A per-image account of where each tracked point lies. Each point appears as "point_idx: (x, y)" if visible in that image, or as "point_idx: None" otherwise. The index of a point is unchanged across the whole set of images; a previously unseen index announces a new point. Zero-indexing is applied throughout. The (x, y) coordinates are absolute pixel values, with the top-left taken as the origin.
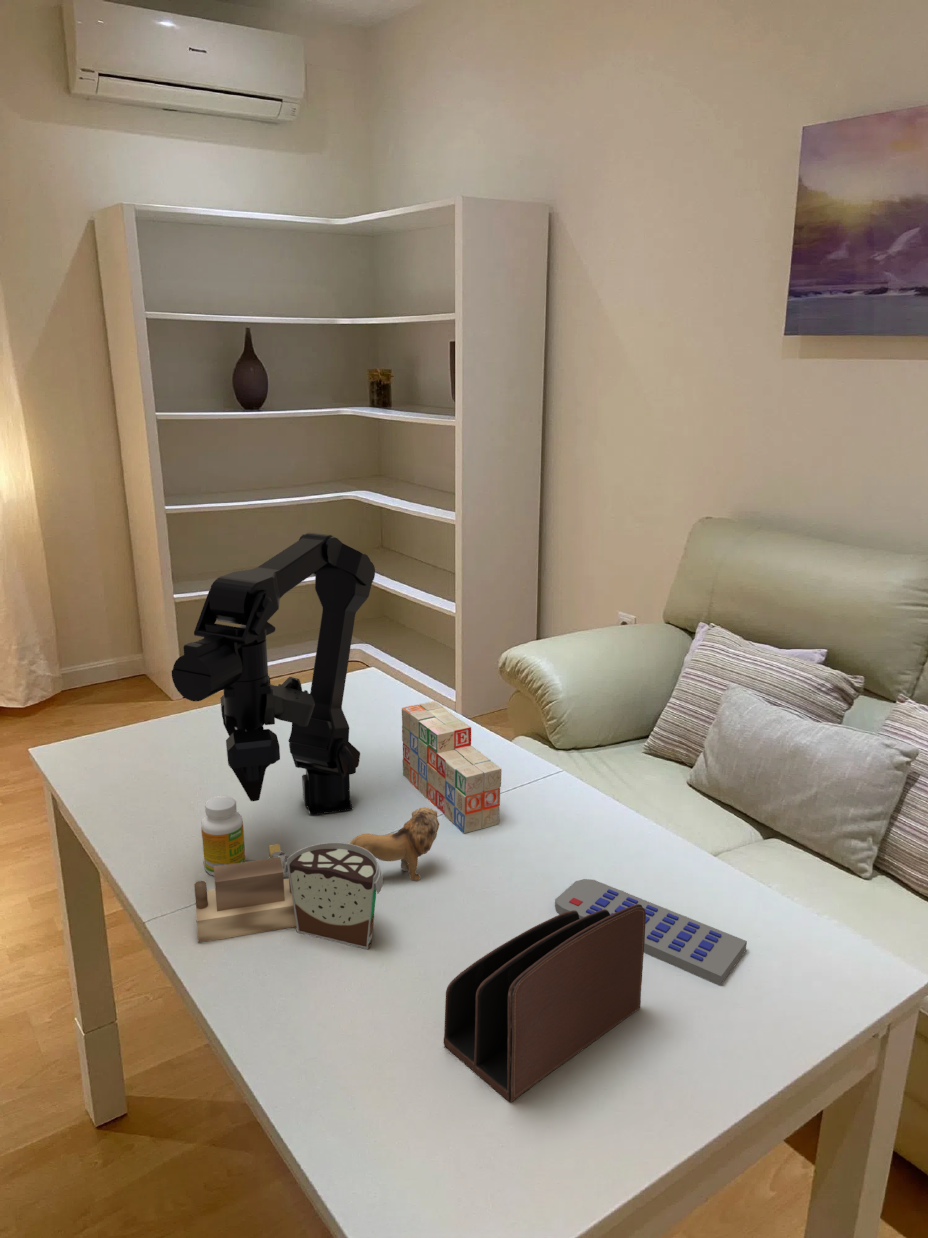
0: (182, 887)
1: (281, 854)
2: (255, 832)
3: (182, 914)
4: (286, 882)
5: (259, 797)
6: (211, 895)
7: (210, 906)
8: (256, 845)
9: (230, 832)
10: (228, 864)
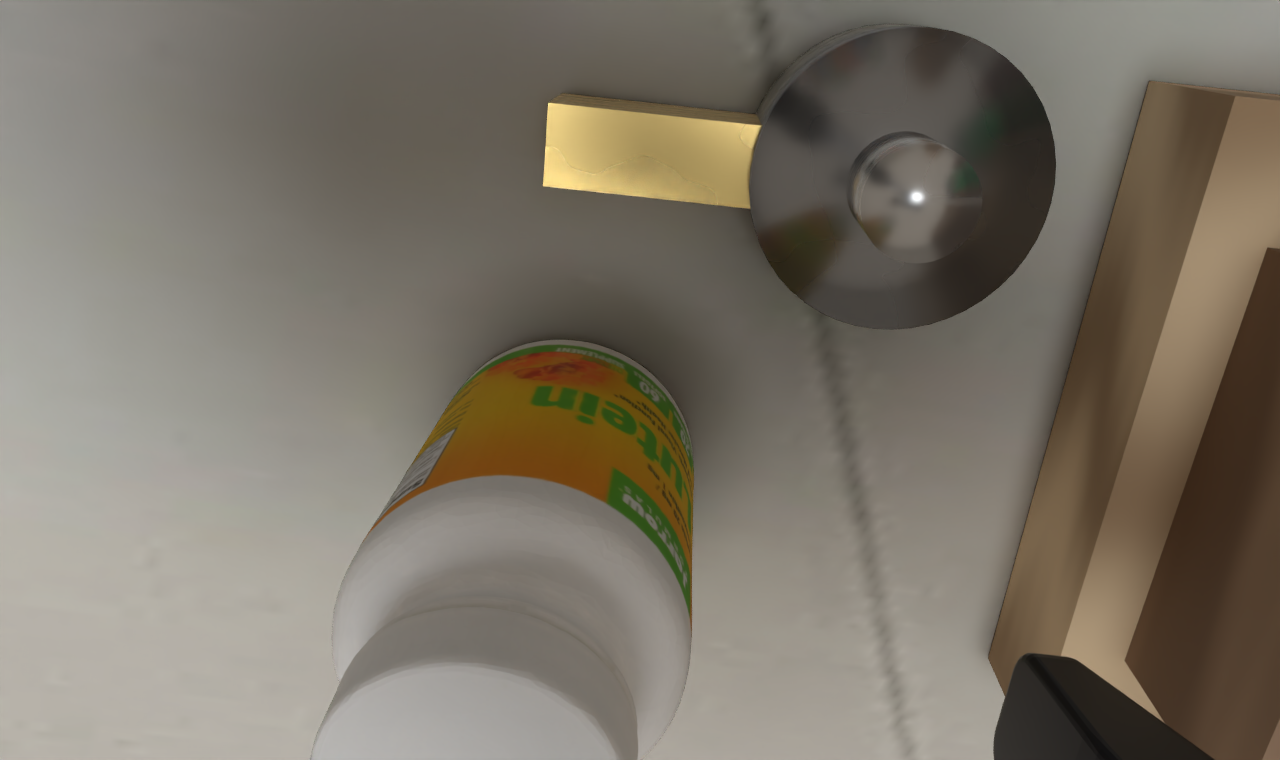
0: (696, 684)
1: (925, 175)
2: (181, 193)
3: (953, 716)
4: (1260, 204)
5: (1104, 684)
6: (1118, 684)
7: None
8: (363, 221)
9: (683, 604)
10: (1270, 735)
